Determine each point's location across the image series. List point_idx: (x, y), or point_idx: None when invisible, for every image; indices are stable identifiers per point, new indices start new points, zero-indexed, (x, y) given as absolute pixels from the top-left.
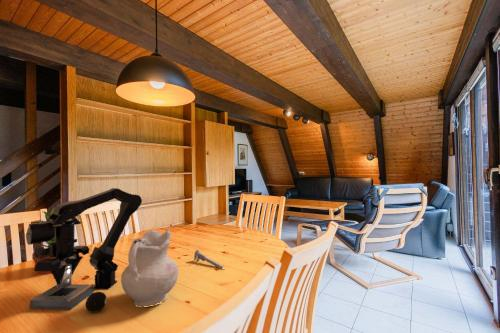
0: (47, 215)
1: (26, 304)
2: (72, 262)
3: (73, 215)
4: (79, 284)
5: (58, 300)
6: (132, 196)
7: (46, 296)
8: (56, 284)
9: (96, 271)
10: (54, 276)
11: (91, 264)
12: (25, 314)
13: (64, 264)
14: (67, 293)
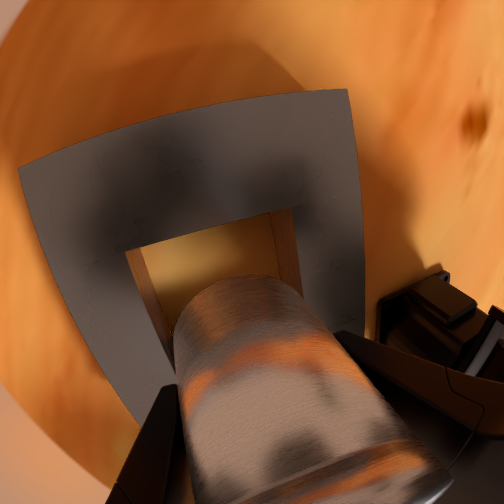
0: None
1: (91, 58)
2: (454, 500)
3: None
4: (363, 289)
5: (118, 386)
6: None
7: (111, 239)
8: (180, 337)
9: (463, 346)
10: (125, 485)
11: (497, 377)
12: (6, 212)
13: (423, 499)
14: (280, 242)
